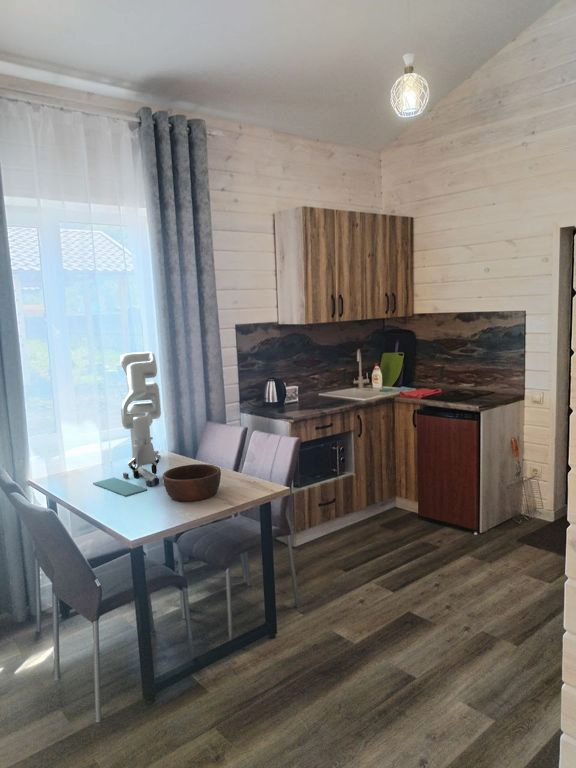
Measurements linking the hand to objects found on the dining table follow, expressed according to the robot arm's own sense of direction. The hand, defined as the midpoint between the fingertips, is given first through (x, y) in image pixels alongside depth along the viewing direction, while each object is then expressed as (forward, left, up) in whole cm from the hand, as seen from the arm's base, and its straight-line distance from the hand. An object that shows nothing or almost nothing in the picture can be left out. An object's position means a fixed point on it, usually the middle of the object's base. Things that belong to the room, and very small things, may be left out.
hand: (145, 476), depth 280 cm
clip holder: (0, 0, -2) cm, 2 cm away
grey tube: (0, 0, -2) cm, 2 cm away
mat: (+14, 0, -2) cm, 14 cm away
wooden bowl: (-1, +37, -2) cm, 37 cm away
